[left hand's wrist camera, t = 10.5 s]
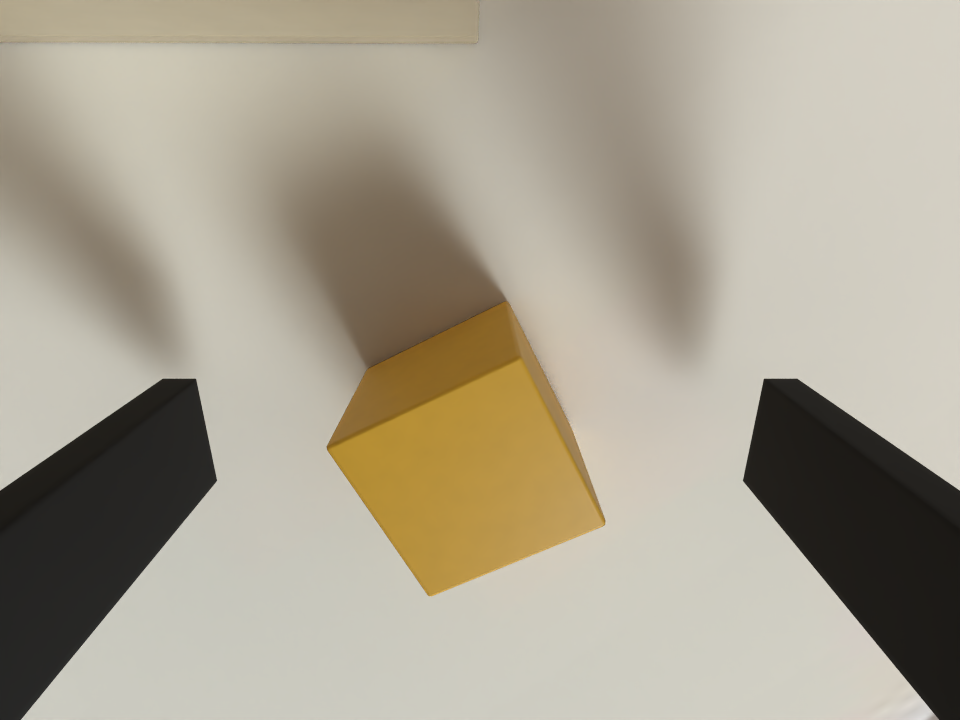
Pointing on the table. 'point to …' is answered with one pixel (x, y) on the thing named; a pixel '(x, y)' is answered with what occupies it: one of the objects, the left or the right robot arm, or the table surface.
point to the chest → (240, 21)
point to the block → (465, 453)
